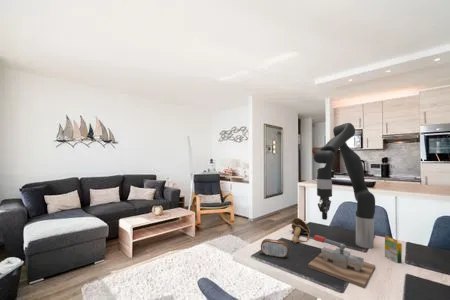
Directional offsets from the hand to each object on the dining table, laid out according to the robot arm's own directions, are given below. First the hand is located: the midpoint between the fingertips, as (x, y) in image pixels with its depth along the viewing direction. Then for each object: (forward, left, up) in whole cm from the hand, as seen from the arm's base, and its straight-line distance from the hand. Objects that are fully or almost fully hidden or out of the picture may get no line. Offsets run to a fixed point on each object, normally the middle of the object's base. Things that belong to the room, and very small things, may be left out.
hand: (324, 219), depth 121 cm
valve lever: (+6, +5, -12) cm, 14 cm away
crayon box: (-21, +27, -20) cm, 40 cm away
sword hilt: (-15, -22, -20) cm, 33 cm away
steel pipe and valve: (+7, +10, -18) cm, 22 cm away
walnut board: (+7, +10, -20) cm, 24 cm away
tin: (+19, -20, -20) cm, 34 cm away
